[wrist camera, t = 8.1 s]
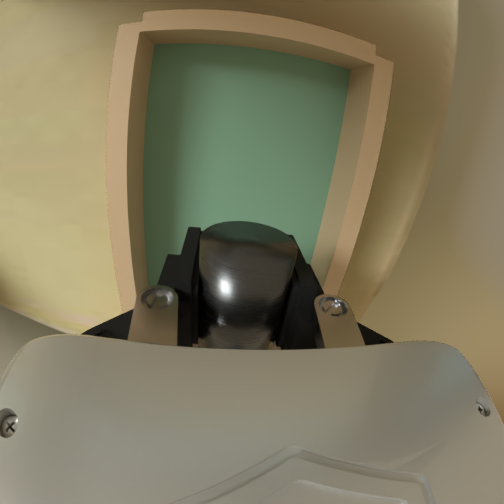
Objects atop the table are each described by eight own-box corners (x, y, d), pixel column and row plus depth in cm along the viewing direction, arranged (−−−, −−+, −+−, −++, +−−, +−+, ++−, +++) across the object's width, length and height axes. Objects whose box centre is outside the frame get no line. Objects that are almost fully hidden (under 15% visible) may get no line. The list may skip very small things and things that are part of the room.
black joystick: (178, 172, 15) (95, 303, 5) (296, 183, 16) (400, 315, 6) (179, 321, 20) (162, 461, 10) (267, 325, 21) (291, 462, 11)
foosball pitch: (145, 34, 12) (110, 6, 6) (359, 62, 14) (410, 50, 8) (149, 342, 24) (137, 392, 19) (290, 349, 26) (302, 398, 21)
